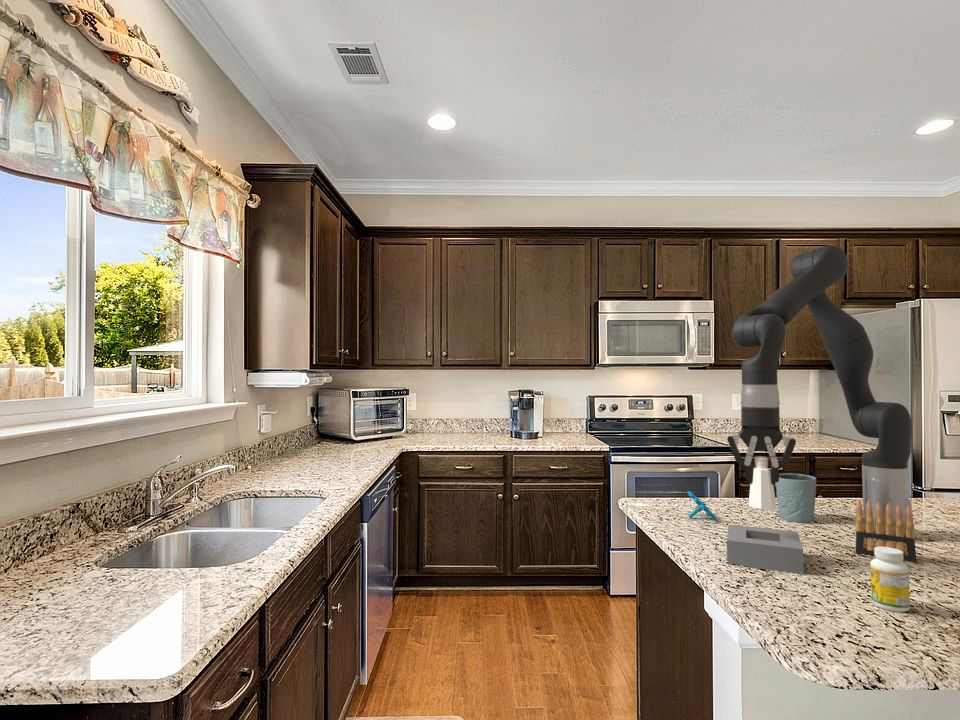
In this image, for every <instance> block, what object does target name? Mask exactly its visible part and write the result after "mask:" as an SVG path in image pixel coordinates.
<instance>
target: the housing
mask: <svg viewBox="0 0 960 720" xmlns="http://www.w3.org/2000/svg"><path fill="white" fill-rule="evenodd" d="M726 564H727V565H731V564H736V565H735V566H738V565H743V566H742V567H745V566H749V567H748V568H753V567H754V568H755V569H762V570H768V571H775V570H780V571H779V572H783V571H786V572H785V573H790V572H792V574H797V573H799V574H798V575H805V573H804V572H805V571H804V570H805V569H804V565H805V564H804V547H803V545H802V542H801V539H800V536H799V532H798V531H796V530H786V529H776V528H767V527H759V526H758V527H757V526H749V525H748V526H747V525H737V524H731V523H730V524H728V527H727V535H726Z"/></svg>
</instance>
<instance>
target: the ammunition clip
mask: <svg viewBox="0 0 960 720" xmlns="http://www.w3.org/2000/svg"><path fill="white" fill-rule="evenodd" d="M855 508H856V509H855V510H856V511H855V518H854V521H855V522H854V523H855V554H856V553H857V554H856V555H860V554H864V555H863V556H867V555H871V556H870V557H874V556H875V555H874V548H875V547H890V548H895V549H898V550H901V551H902V552H903V558H904V559H903V561H902V562H907V561H908V563H915V564H916V563H917V562H918V561H917V552H916V538H915V535H916V533H915V523H914V518H913V517H914V516H913V510H911V507H910V505H908V506H907V509H906V520H905V535H904V523H903V517H902V509H901V506H900V504H898V505H897V507H896V517H895V534H894V522H893V516H892V509H891V505H890V503H888V504H887V506H886V515H885V533H884V521H883V515H882V507H881V504H880V502H878V503H877V506H876V518H875V532H874V519H873V513H872V506H871V503H870V501H868V502H867V505H866V518H865V530H864V516H863V504H862V501H861V500H860V499H858V500H857V502H856V506H855ZM874 558H877V557H876V556H875V557H874Z"/></svg>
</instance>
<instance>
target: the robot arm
mask: <svg viewBox="0 0 960 720" xmlns="http://www.w3.org/2000/svg"><path fill="white" fill-rule="evenodd" d="M848 271H849V259H848V256H847V254H846V253H845V251H844V250H843V249H842V248H841V247H840V246H838V245H833V244H830V245H824V246H821V247H818V248H814V249H812V250H809V251H805V252H803V253H800V254H797V255H795V256H794V257H793V258H792V259H791V261H790V272H791V277H792V280H791V281H789V282H787V283H786V284H784V285H782V286H781V287H779V288H778V289H776V290H775V291H773V293H772V294H771V295H770V296H768V298H766V300H765V301H764V302H763V303H761V304H759V305H758V306H755V307H754V308H752V309H750V310H749V311H747V312H746V313H744V314H742V315H741V316H740V317H739V318H737V320H736V321H735V322H734V324H733V326H732V329H731V336H732V339H733V341H734V343H735V344H737V345H738V346H740V347H742V348H759V350H758V352H757V354H756V355H755V356H751V357H749V358H745V359H744V360H743V361H742V363H741V392H740V408H741V409H740V412H741V415H740V417H741V419H740V420H741V421H740V422H741V429H740V431H739V433H736V434H733V435H728V436H727V439H726V440H727V441H728V445H729V447H730V450H731V453H732V455H733V457H734V460H735V462H736V463H738V464H742V465H743V466H744V479H745V481H748V484H751V483H752V468H753V465H752V460H753V458H754V457H753V456H754V452H764V453H768V456H769V458H770V462H771V466H770V469H771V472H772V485H773V486H776V484H775V482H778V481H779V474H780V467H782V466H788V464H789V462H790V460H791V457H792V454H793V452H794V449H795V446H796V443H797V441H796V439H795V438H794V437H788V436H785V435H783V433H782V432H781V427H780V426H781V425H780V424H781V423H780V422H781V417H780V415H781V414H780V404H781V402H780V392H779V387H778V364H779V360H780V356H781V352H782V348H783V345H784V342H785V338H786V326H787V325H788V324H789V323H790V322H791V321H792V320H793V319H794V318H796V316H797V315H798V314H799V313H800V312H801V311H802V309H803V308H804V307H806V306H807V308H808V309H809V311H810V314H811V316H812V318H813V320H814V323H815V324H816V327H817V329H818V332H819V334H820V337H821V339H822V342H823V344H824V345H823V346H824V348H825V350H826V352H827V355H828V357H829V359H830V361H831V363H832V366H833V367H834V370H835V373H836V376H837V378H838V380H839V383H840V385H841V388H842V391H843V392H842V393H843V395H844V398H845V403H846V406H847V409H848V413H849V416H850V419H851V422H852V424H853V427H854V428H855V430H856V432H858V434H860V435H861V436H863V437H866V438H870V439H871V438H872V439H873V438H874V439H878V441H877V443H878V444H877V447H876V448H875V449H873V450H870V451H866V452H863V453H862V454H861V476H862V477H861V478H862V479H861V480H862V481H861V482H862V503H863V504H862V509H863V518H864V530H865V518H866V505H867V502H868V501H870V503H871V506H872V513H873V519H874V532H875V518H876V506H877V503H878V502H880V504H881V507H882V515H883V521H884V533H885V515H886V506H887V504H888V503H890V505H891V509H892V516H893V522H894V534H895V517H896V507H897V505H898V504H900V506H901V509H902V517H903V523H904V535H905V520H906V509H907V506H908V505H910V507H911V510H912V509H913V508H912V507H913V506H912V501H911V499H910V497H909V474H908V466H909V465H908V463H909V460H910V457H911V452H912V449H911V447H912V417H911V413H910V412H909V410H908V408H907V407H905V406H904V405H903V404H901V403H896V402H885V401H876V399H875V397H874V396H873V393H872V390H871V388H870V384H869V378H870V377H869V375H870V372H871V368H872V364H873V360H874V349H873V346H872V344H871V341H870V338H869V336H868V333H867V331H866V329H865V327H864V325H862V323H860V321H858V320H857V319H856V318H855V317H854V316H852V315H851V314H849V313H847V312H846V311H845V310H843V309H842V308H841V307H839V306H838V305H836V304H835V303H834V301H833V300H831V299H830V297H829V295H828V294H827V292H826V291H825V290H827V289H828V288H829V287H831V286H832V285H835V283H837V282H839V281H840V280H842V279H843V278H844V277H845V276H846V274H847V273H848ZM739 439H740V440H741V441H742V442H743V443H744V444H745V446H746V447H747V451H746V454H745V457H743V456H741V454H740V451H739V448H738V446H737V445H738V444H739V441H740V440H739ZM781 441H782V442H783V446H784V447H785V448H784V449H785V450H784V452H783V454H782V458H780V459H778V458H777V456H776V455H777V454H776V452H775V448H776V447H777V446H778V445H779V443H780V442H781ZM912 511H913V510H912Z"/></svg>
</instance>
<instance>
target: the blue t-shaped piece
mask: <svg viewBox="0 0 960 720" xmlns="http://www.w3.org/2000/svg"><path fill="white" fill-rule="evenodd" d="M687 495H688V496H689V497H690V498H691V499H692V500H693V501H694V502H695V504H696V505H695V507H694V508H695V509H693V510H692V511H691V512H690V513H689V514H688V515H687V517H688V518H689V519H692V518H693V517H695V515H697V514H698V513H701V512H702V511H704V512H705V514H707V515H708V516H709V517H710V518H711V519H712V520H713V521H717V520H718V518H717V516H716V515H715V513H713V512H712V511H711V510H710V508H709V507H707V504H706V503H705V502H704V501H702V500H700V498H698V497H697V496H696V495H695V494H694V493H693V492H692V491H688V492H687Z"/></svg>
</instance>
